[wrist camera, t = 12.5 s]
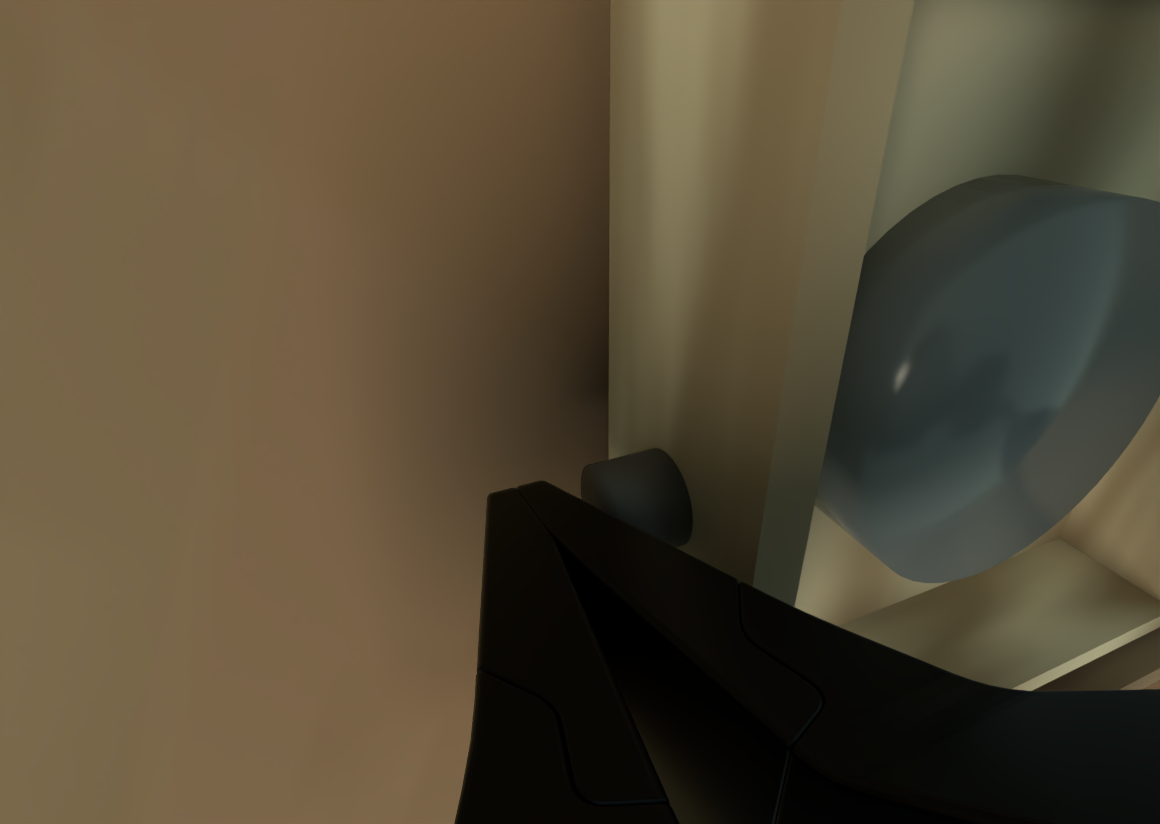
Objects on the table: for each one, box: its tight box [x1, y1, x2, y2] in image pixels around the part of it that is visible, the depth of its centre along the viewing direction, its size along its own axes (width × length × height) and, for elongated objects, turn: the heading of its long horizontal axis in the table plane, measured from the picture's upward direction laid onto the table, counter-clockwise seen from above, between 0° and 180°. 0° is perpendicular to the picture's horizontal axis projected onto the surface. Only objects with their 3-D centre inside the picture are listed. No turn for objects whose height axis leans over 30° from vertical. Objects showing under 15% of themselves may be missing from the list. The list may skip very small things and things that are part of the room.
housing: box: [1032, 627, 1160, 691], centre depth 13 cm, size 14×16×4 cm
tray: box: [581, 0, 1160, 691], centre depth 11 cm, size 15×15×4 cm
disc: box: [815, 174, 1160, 583], centre depth 12 cm, size 7×7×2 cm
